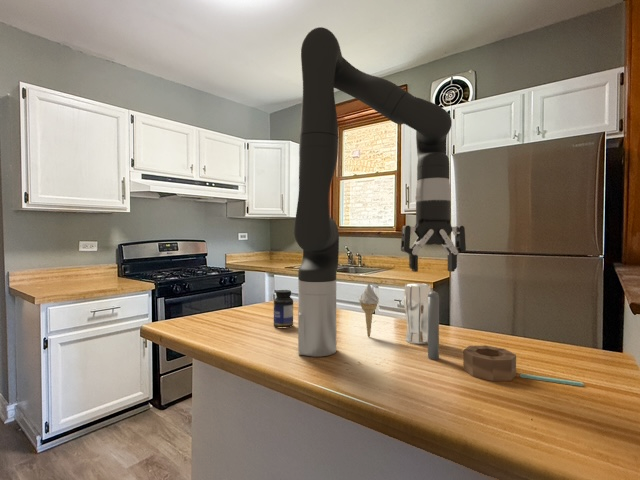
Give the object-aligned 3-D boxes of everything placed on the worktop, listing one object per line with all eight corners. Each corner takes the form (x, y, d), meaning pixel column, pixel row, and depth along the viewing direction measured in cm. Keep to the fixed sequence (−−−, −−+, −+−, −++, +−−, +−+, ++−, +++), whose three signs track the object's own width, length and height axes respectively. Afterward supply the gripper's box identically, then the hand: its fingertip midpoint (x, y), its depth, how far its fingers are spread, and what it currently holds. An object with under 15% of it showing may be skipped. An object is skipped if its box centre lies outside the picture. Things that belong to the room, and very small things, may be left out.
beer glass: (432, 345, 88) (432, 286, 88) (404, 344, 90) (404, 286, 90) (429, 338, 95) (429, 283, 95) (403, 336, 96) (403, 282, 96)
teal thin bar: (520, 377, 68) (520, 374, 68) (520, 375, 69) (520, 373, 69) (583, 386, 64) (583, 383, 64) (582, 385, 64) (582, 382, 64)
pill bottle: (270, 325, 109) (270, 290, 109) (286, 322, 113) (286, 288, 113) (279, 329, 104) (279, 292, 104) (297, 326, 108) (297, 291, 108)
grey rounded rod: (430, 359, 78) (430, 292, 78) (426, 356, 80) (426, 290, 80) (440, 359, 78) (440, 292, 78) (436, 356, 81) (436, 290, 80)
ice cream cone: (356, 338, 95) (356, 283, 95) (361, 333, 100) (361, 281, 100) (376, 340, 93) (376, 284, 93) (381, 335, 98) (381, 282, 98)
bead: (479, 381, 66) (479, 360, 66) (457, 364, 75) (457, 346, 75) (524, 380, 67) (524, 359, 67) (497, 363, 76) (497, 345, 76)
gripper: (407, 198, 75) (407, 273, 75) (471, 198, 76) (471, 272, 76) (397, 201, 82) (397, 270, 82) (455, 202, 83) (455, 269, 84)
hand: (433, 271), depth 79 cm, fingers open, 8 cm apart
